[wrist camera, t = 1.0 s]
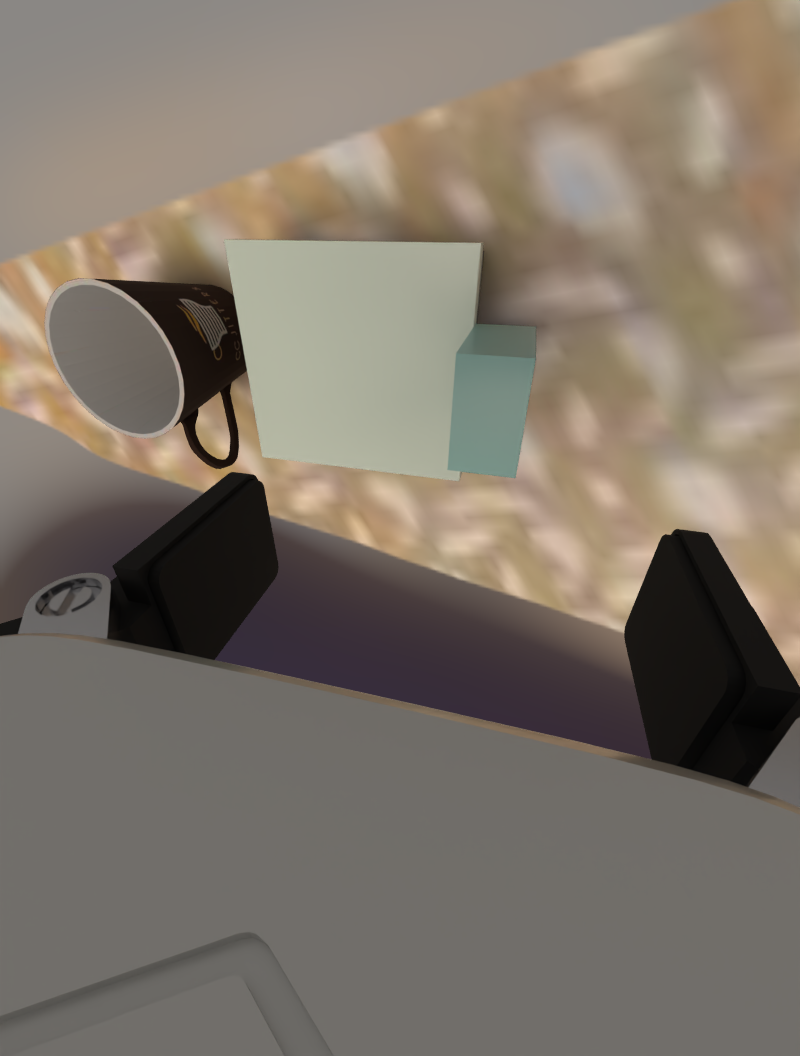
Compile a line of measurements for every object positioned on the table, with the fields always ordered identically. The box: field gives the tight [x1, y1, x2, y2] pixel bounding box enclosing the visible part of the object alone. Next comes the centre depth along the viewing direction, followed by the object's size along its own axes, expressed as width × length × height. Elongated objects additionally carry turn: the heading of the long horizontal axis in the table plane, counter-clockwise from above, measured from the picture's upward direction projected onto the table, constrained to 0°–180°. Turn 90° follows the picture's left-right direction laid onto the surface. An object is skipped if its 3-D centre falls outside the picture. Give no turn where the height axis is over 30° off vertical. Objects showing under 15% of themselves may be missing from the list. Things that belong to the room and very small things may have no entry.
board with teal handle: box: [224, 239, 536, 481], centre depth 22 cm, size 16×12×7 cm
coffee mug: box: [44, 278, 247, 469], centre depth 30 cm, size 12×9×10 cm
